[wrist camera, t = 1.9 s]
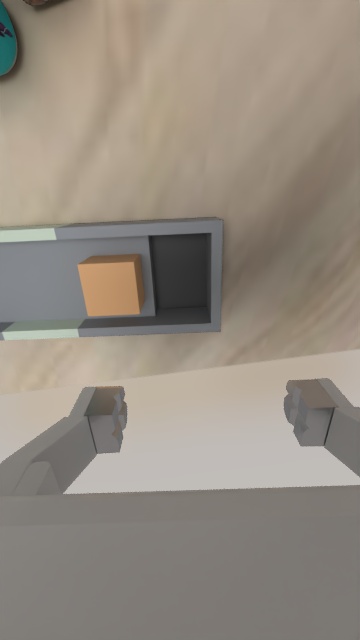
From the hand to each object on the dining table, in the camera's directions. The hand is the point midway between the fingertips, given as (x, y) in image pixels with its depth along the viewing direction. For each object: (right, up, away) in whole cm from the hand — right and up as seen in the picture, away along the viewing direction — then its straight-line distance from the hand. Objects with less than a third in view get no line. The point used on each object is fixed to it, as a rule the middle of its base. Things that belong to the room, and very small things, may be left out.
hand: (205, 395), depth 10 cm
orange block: (-7, +7, +17) cm, 20 cm away
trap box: (-13, +8, +19) cm, 25 cm away
